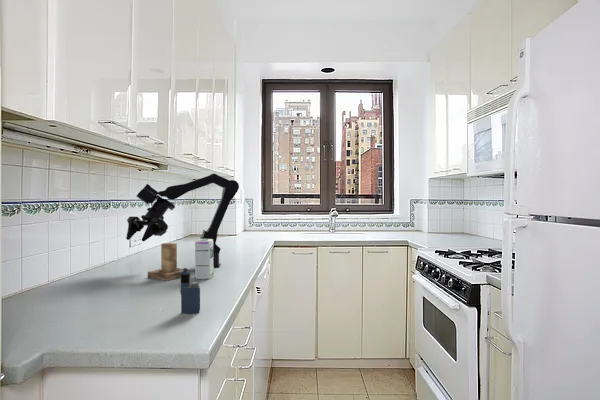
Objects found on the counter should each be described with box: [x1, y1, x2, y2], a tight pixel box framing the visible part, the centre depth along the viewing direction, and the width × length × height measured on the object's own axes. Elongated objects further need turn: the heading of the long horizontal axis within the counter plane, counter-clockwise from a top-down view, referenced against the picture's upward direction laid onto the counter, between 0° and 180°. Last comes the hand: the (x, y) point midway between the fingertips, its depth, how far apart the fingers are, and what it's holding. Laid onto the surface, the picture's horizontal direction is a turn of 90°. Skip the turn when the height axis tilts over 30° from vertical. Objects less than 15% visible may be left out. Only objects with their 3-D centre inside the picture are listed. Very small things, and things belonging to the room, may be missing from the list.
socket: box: [147, 267, 191, 281], centre depth 154 cm, size 11×11×2 cm
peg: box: [160, 242, 178, 273], centre depth 154 cm, size 4×4×12 cm
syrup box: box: [194, 238, 215, 280], centre depth 152 cm, size 6×6×14 cm
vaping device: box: [179, 267, 201, 315], centre depth 108 cm, size 3×5×12 cm, turn 88°
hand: (134, 240), depth 156 cm, fingers open, 9 cm apart
